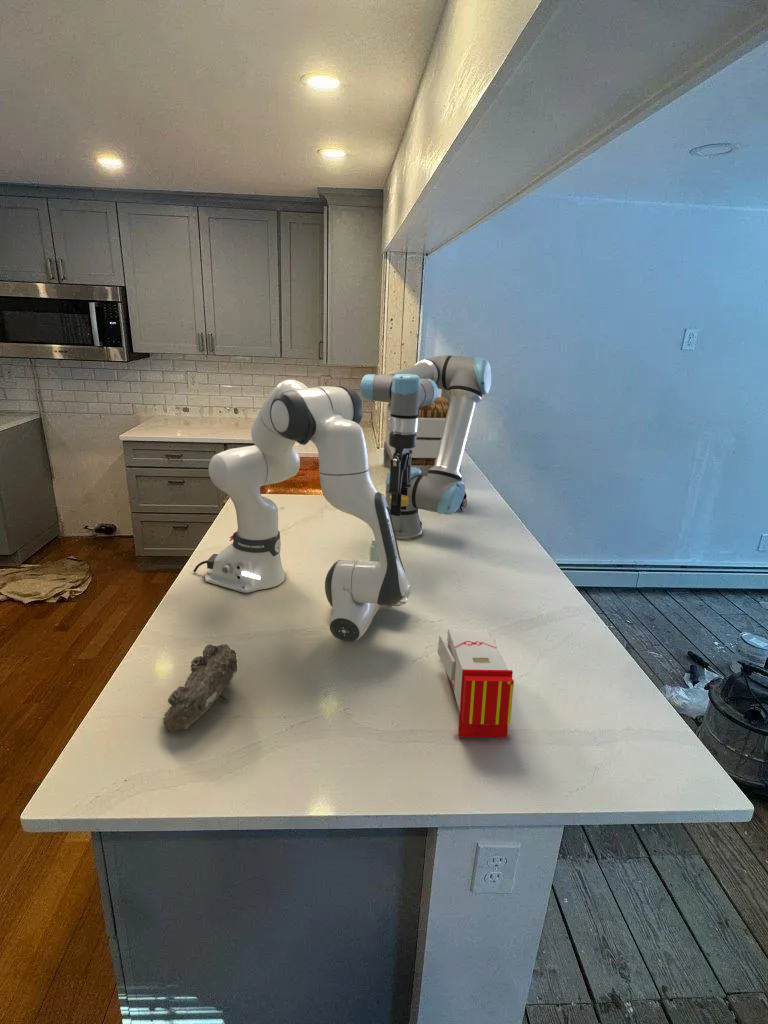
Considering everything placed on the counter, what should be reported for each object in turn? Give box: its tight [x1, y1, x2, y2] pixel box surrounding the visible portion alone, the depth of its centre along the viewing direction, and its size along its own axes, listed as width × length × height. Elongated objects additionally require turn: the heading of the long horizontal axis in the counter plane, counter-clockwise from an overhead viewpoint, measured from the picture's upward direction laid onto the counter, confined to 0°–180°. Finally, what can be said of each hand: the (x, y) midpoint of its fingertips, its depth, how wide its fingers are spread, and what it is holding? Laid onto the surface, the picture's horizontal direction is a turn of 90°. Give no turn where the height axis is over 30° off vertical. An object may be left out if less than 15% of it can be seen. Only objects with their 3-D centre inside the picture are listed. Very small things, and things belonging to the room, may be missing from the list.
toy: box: [437, 628, 515, 738], centre depth 117 cm, size 12×13×30 cm
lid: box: [389, 495, 409, 507], centre depth 162 cm, size 6×6×2 cm
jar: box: [369, 536, 380, 562], centre depth 152 cm, size 5×5×17 cm
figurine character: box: [458, 490, 468, 512], centre depth 228 cm, size 7×8×15 cm
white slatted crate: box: [383, 389, 463, 475], centre depth 268 cm, size 34×33×41 cm
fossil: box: [162, 643, 238, 732], centre depth 111 cm, size 22×10×15 cm
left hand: (378, 575), depth 154 cm, fingers closed on jar, 4 cm apart
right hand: (398, 511), depth 163 cm, fingers closed on lid, 5 cm apart
